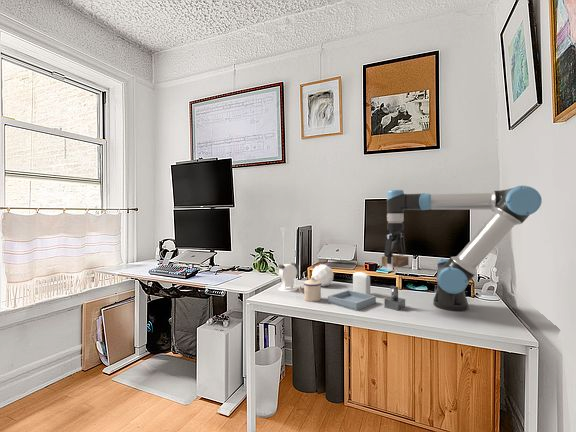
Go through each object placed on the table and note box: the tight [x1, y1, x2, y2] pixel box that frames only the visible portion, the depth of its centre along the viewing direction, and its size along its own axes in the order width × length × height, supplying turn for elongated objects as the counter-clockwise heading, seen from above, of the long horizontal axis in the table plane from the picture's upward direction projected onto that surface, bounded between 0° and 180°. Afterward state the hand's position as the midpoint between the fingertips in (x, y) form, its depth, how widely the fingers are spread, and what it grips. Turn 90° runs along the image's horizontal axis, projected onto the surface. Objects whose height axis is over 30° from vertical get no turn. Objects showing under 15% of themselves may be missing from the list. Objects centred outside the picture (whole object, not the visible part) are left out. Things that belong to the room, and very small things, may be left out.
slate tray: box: [327, 289, 377, 312], centre depth 159 cm, size 17×17×4 cm
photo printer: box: [352, 271, 371, 295], centre depth 175 cm, size 10×4×12 cm, turn 39°
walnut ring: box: [381, 254, 410, 268], centre depth 152 cm, size 10×9×4 cm
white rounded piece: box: [277, 262, 298, 293], centre depth 187 cm, size 12×11×15 cm
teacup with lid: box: [298, 276, 322, 303], centre depth 167 cm, size 12×9×12 cm
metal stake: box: [384, 285, 406, 311], centre depth 152 cm, size 7×7×10 cm
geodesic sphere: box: [311, 263, 335, 287], centre depth 195 cm, size 14×14×14 cm
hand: (395, 269), depth 152 cm, fingers closed on walnut ring, 9 cm apart
